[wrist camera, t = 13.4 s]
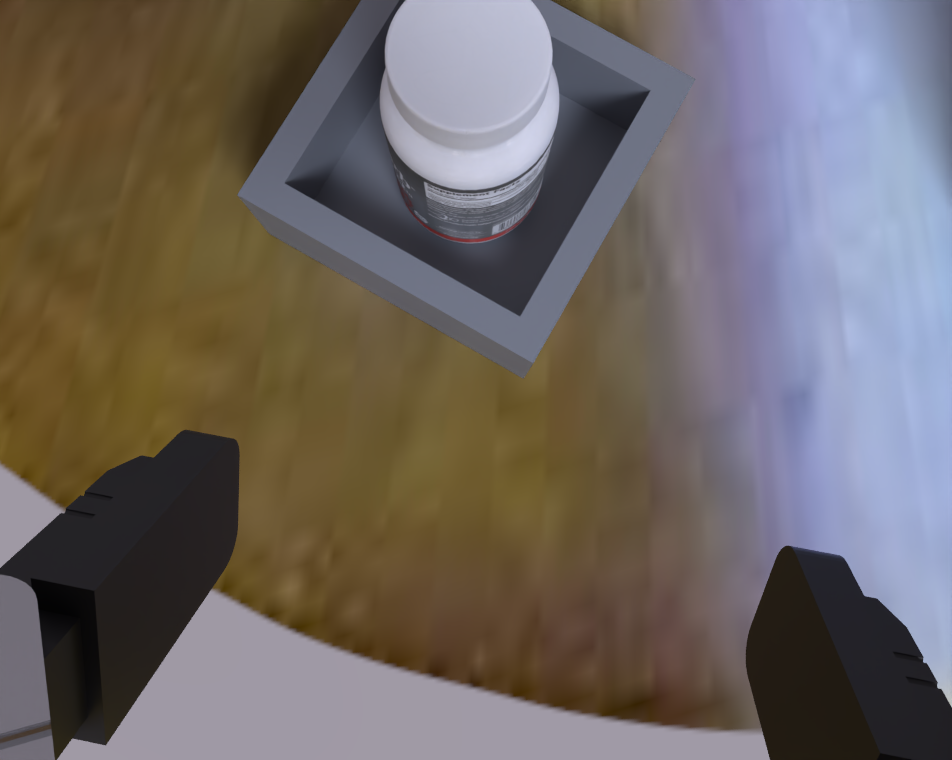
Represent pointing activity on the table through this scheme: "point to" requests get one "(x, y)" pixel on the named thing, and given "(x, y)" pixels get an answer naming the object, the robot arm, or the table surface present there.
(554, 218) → the bin
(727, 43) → the table surface
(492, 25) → the pill bottle
